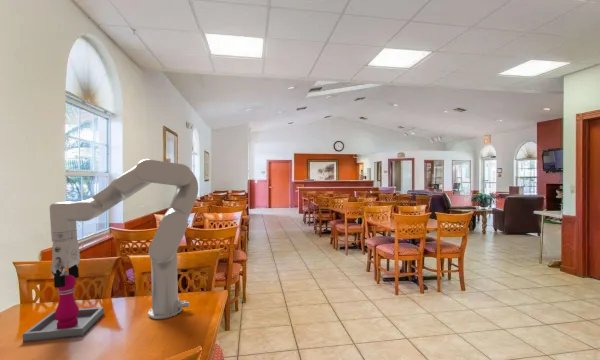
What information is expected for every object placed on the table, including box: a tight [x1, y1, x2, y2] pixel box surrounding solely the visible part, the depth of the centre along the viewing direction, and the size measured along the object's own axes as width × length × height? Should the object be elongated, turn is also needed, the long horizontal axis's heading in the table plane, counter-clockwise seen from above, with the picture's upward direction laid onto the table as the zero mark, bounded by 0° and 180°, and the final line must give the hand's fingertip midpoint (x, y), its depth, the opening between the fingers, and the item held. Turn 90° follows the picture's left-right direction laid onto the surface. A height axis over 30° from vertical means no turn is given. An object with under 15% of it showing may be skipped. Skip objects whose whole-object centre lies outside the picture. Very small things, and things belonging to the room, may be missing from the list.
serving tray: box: [22, 306, 105, 343], centre depth 119 cm, size 18×18×3 cm
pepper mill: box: [55, 270, 80, 329], centre depth 118 cm, size 7×7×20 cm
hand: (67, 282), depth 118 cm, fingers open, 9 cm apart
